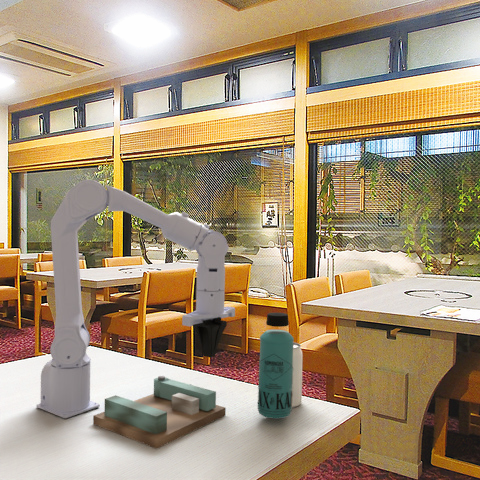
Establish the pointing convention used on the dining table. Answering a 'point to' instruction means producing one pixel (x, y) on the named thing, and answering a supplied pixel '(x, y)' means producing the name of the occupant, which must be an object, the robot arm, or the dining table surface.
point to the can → (297, 375)
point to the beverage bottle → (275, 369)
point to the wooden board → (155, 418)
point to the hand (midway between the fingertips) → (209, 356)
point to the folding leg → (184, 392)
